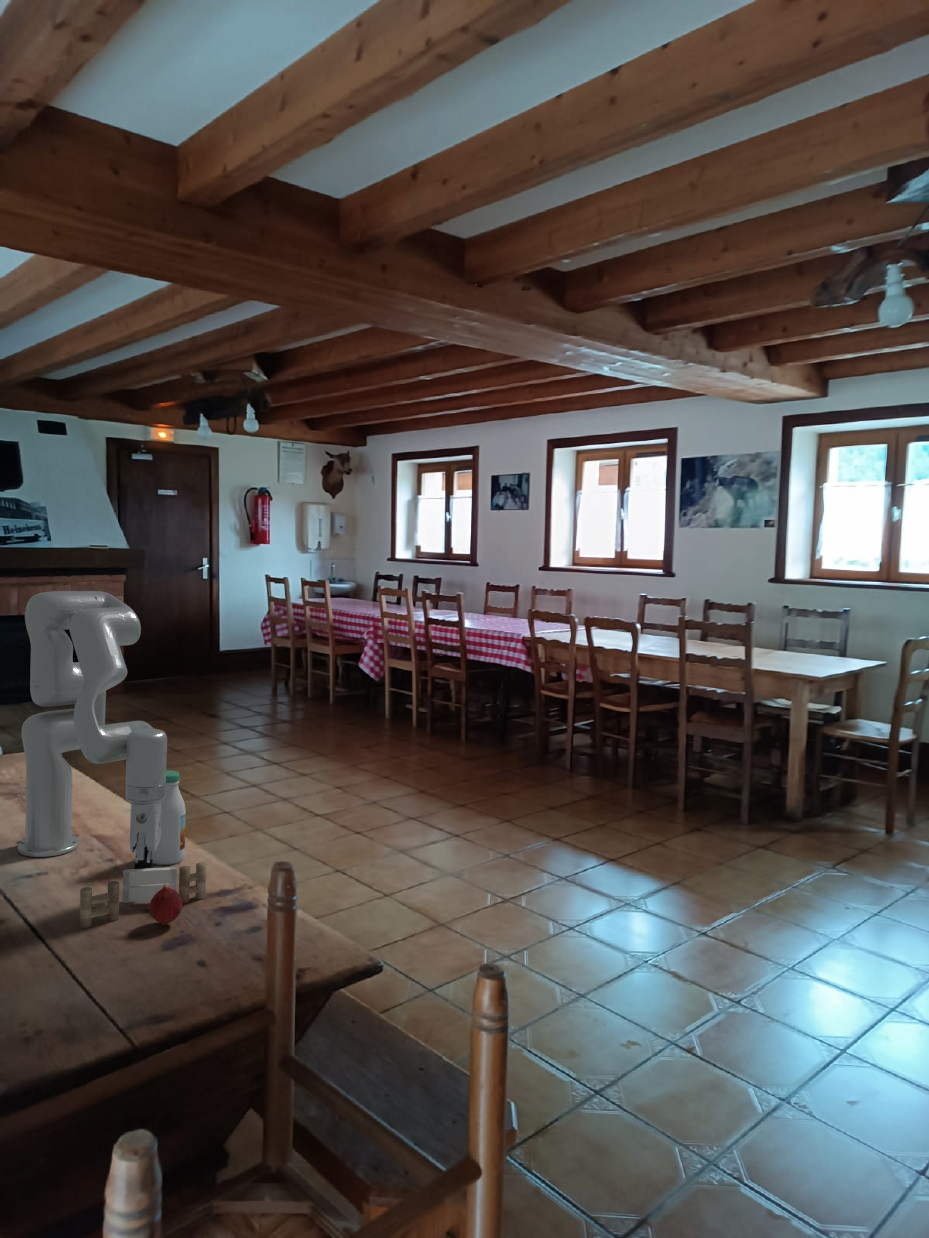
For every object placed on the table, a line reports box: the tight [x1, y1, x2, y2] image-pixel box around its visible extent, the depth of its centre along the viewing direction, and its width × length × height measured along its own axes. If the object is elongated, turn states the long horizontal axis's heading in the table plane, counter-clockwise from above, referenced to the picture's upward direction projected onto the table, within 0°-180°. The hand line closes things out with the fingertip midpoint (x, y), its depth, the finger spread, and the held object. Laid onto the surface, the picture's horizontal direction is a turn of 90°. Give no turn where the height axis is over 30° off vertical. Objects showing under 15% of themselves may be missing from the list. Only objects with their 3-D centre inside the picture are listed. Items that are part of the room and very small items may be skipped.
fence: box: [79, 861, 207, 929], centre depth 166 cm, size 2×24×7 cm, turn 131°
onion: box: [149, 883, 183, 926], centre depth 161 cm, size 6×6×8 cm
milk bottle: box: [152, 770, 187, 866], centre depth 192 cm, size 8×8×20 cm
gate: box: [121, 866, 178, 903], centre depth 169 cm, size 10×1×6 cm, turn 106°
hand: (143, 879), depth 172 cm, fingers closed
